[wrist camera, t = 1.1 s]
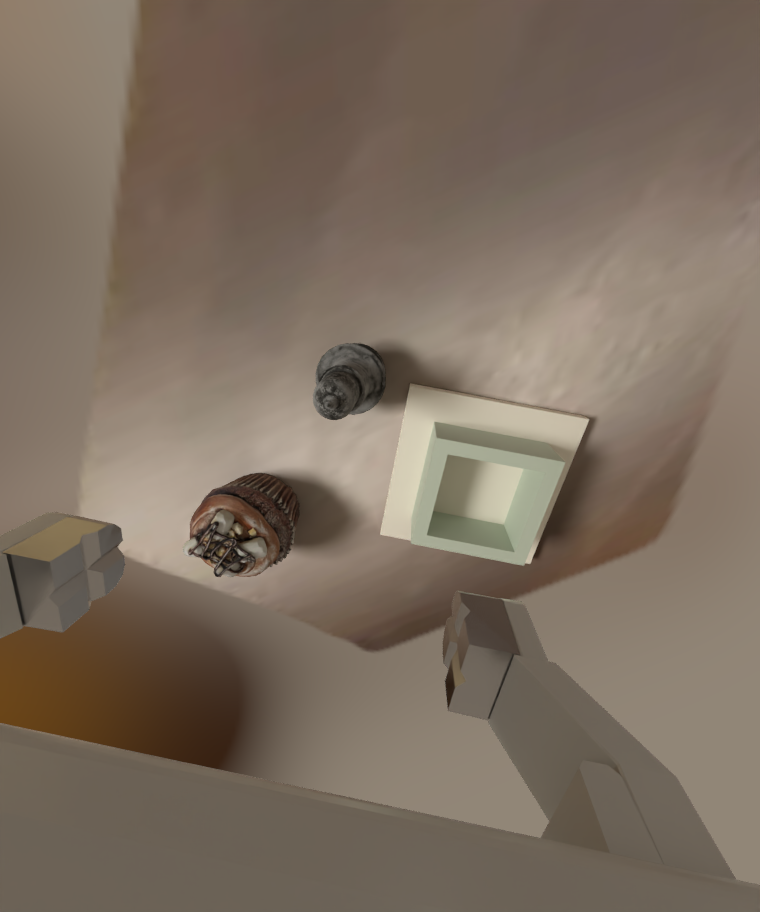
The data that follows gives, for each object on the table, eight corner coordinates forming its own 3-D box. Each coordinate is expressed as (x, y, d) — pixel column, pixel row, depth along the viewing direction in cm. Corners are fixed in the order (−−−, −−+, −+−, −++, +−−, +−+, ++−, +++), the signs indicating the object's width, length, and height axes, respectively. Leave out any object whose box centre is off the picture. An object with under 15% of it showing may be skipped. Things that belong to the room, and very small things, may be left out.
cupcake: (208, 511, 41) (147, 571, 32) (246, 447, 37) (190, 493, 28) (280, 556, 42) (243, 625, 33) (324, 498, 39) (295, 557, 30)
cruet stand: (410, 383, 33) (409, 397, 28) (583, 415, 33) (615, 436, 28) (381, 528, 40) (375, 561, 34) (526, 556, 39) (543, 595, 34)
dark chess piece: (394, 347, 32) (383, 368, 21) (381, 410, 35) (365, 458, 23) (329, 333, 32) (284, 347, 21) (321, 397, 35) (277, 439, 24)
